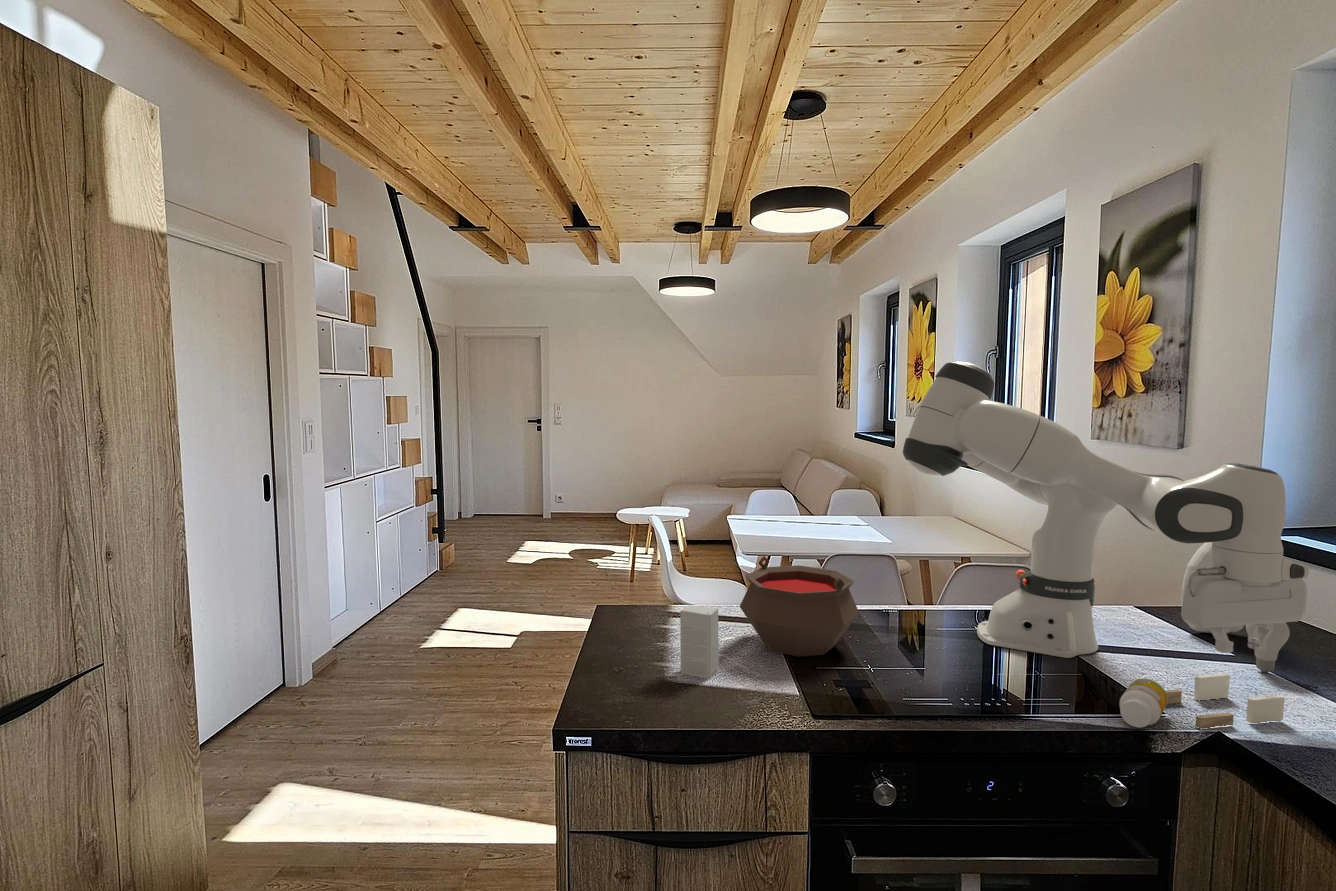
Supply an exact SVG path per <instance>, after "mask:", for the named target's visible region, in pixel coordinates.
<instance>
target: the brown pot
mask: <svg viewBox="0 0 1336 891" xmlns="http://www.w3.org/2000/svg"><path fill="white" fill-rule="evenodd" d="M763 562H764V563H763ZM769 563H770V560H769V559H768V558H767V557H766V555H763V556H762V557H761V558H760V560H759V562H758V565H759V566H760V568H758V569H756V570H754V571H752V572H750V573H748V574H746V575H745V576H744V577H745V578H746V579H747V581H748V582H749V585H748V588H747V590H746V592H745V594H744V597H743V598H742V601H741V603H740V605H739V608H740V609H741V610H742V611H741V612H742V613H743V614H744V616H745V617H746V619H747V620H748V621H749V623H750V624H751V626H752V627H753V629H754V630H755V633H756V634H757V635H758V637H759V638H760V640H761V641H762V643H763V644H764V645H766V647H767V648H768V649H769V650H770V651H771V652H775V653H780V654H784V655H788V656H789V655H790V656H793V657H798V658H799V657H809V656H811V657H812V656H824V655H826V653H827V652H829V651H830V650H832V648H834V647H835V645H837V643H838V642H839V640H841V638H842V636H843V635H844V634H845V632H846V631H847V630H849V628H850V626H851V625H852V624H853V622H854V621H855V620H856V618H857V617H858V616H859V615H860V612H859V609H858V607H857V605H856V602H855V600H854V597H853V595H852V593H851V590H850V588H851V586H852V585H853V584H854V583H855V580H854V579H852V578H851V577H848V576H847V575H845V574H843V573H841V572H839V571H838V570H835V569H828V568H819V567H812V566H806V565H805V566H804V565H800V564H799V565H798V564H797V565H782V566H768V565H769Z"/></svg>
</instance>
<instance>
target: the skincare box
mask: <svg viewBox="0 0 1336 891" xmlns="http://www.w3.org/2000/svg"><path fill="white" fill-rule="evenodd" d="M679 614H680V615H679V616H680V617H679V618H680V619H679V620H680V625H679V626H680V633H679V635H680V638H679V639H680V674H681V675H686V676H687V675H688V676H691V677H698V678H703V679H708V680H711V679H712V678H713V677H715V675H717V674H718V673H719V608H717V607H716V608H714V607H707V606H699V605H691V604H688V605H687V606H685V607H684V608H683V609H681V610H680V612H679Z"/></svg>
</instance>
